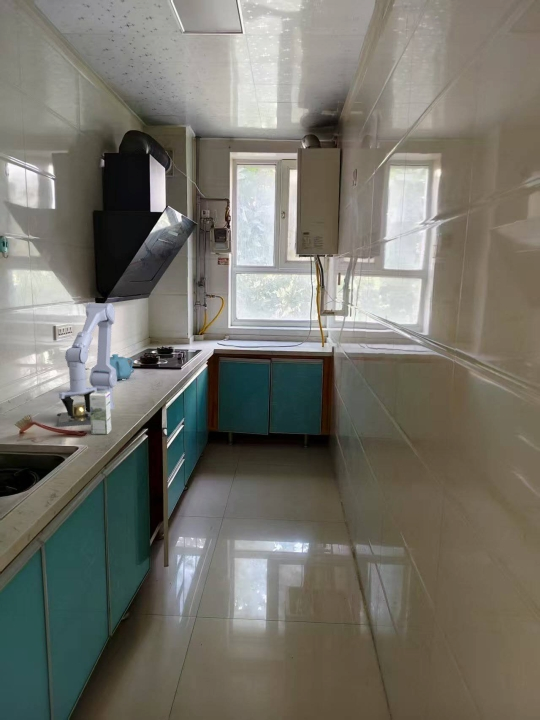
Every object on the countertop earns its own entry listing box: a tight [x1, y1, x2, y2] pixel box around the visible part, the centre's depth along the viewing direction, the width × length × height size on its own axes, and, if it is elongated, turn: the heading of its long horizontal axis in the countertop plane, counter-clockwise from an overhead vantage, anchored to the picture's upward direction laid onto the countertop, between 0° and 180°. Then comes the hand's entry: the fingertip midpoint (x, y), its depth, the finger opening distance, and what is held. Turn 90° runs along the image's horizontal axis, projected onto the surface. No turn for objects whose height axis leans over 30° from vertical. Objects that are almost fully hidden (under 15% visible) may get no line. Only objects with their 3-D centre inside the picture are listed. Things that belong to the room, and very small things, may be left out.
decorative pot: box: [99, 353, 135, 380], centre depth 274 cm, size 16×16×14 cm
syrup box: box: [90, 392, 112, 435], centre depth 181 cm, size 6×6×14 cm
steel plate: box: [57, 410, 91, 428], centre depth 195 cm, size 14×14×2 cm
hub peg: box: [73, 404, 86, 419], centre depth 195 cm, size 4×4×6 cm
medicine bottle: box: [80, 368, 93, 397], centre depth 239 cm, size 7×7×12 cm
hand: (79, 413), depth 195 cm, fingers open, 7 cm apart
